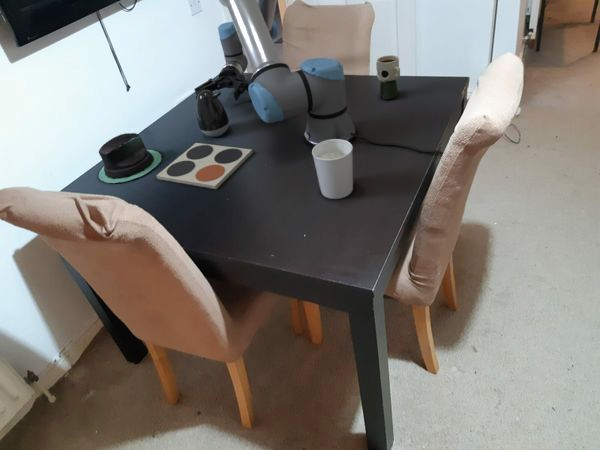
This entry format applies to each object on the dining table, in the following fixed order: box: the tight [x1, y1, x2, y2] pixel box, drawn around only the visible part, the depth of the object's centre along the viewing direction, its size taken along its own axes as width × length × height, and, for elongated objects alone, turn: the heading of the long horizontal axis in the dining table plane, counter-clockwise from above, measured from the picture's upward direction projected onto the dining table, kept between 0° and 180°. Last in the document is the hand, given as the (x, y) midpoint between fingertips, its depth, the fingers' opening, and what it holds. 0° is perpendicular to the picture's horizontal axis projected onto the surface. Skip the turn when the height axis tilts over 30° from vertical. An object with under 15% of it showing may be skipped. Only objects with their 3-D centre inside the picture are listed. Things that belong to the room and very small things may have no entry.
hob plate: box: [155, 142, 254, 190], centre depth 133 cm, size 22×20×1 cm
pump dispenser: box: [195, 90, 230, 138], centre depth 145 cm, size 10×10×15 cm
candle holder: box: [311, 139, 354, 200], centre depth 109 cm, size 10×10×12 cm
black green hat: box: [98, 132, 162, 184], centre depth 138 cm, size 15×19×20 cm
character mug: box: [375, 55, 401, 100], centre depth 147 cm, size 11×7×13 cm, turn 34°
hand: (216, 98), depth 150 cm, fingers open, 13 cm apart
